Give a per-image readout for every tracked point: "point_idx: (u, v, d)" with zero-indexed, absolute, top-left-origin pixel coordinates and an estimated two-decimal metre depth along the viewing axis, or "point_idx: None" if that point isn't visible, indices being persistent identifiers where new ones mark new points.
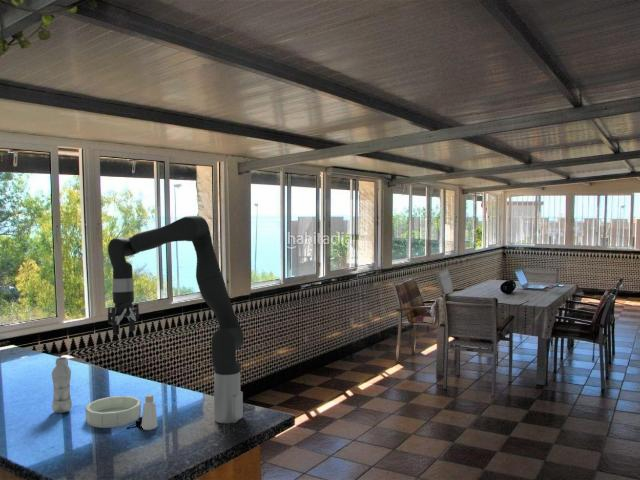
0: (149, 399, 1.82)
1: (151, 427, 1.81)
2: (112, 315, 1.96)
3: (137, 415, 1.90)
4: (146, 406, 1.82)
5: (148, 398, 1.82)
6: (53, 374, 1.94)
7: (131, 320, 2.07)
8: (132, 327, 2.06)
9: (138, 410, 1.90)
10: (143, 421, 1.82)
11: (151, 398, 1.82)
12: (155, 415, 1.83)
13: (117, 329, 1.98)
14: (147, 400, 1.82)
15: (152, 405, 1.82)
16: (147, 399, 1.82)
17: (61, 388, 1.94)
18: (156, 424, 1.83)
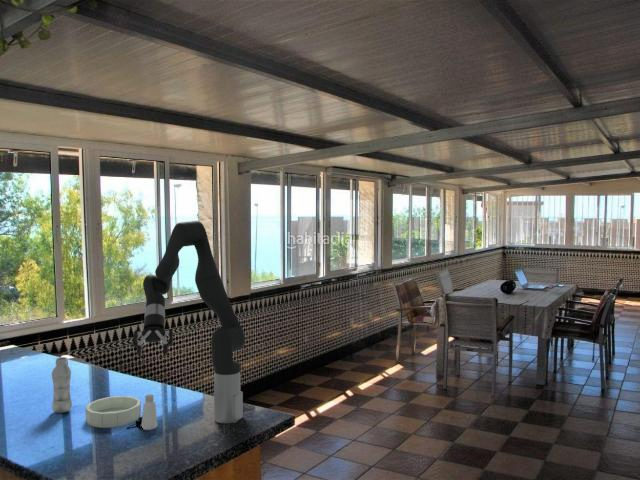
0: (149, 399, 1.82)
1: (151, 427, 1.81)
2: None
3: (137, 415, 1.90)
4: (146, 406, 1.81)
5: (148, 398, 1.82)
6: (53, 374, 1.94)
7: (164, 345, 1.98)
8: (163, 350, 1.96)
9: (138, 410, 1.90)
10: (143, 421, 1.82)
11: (151, 398, 1.82)
12: (155, 415, 1.83)
13: (139, 349, 1.94)
14: (147, 400, 1.82)
15: (152, 405, 1.82)
16: (147, 399, 1.82)
17: (61, 388, 1.94)
18: (156, 424, 1.83)
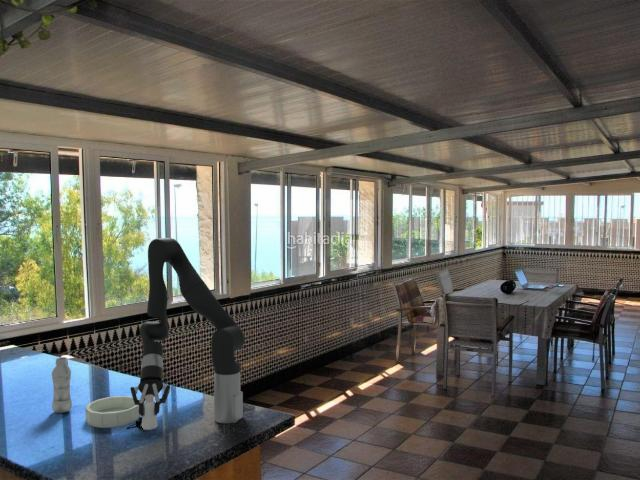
0: (149, 399, 1.82)
1: (151, 427, 1.81)
2: (132, 395, 1.84)
3: (137, 415, 1.90)
4: (146, 406, 1.82)
5: (148, 398, 1.82)
6: (53, 374, 1.94)
7: (156, 402, 1.85)
8: (155, 409, 1.82)
9: (138, 410, 1.90)
10: (143, 421, 1.82)
11: (151, 398, 1.82)
12: (155, 415, 1.83)
13: (141, 408, 1.82)
14: (147, 400, 1.82)
15: (152, 405, 1.82)
16: (147, 399, 1.82)
17: (61, 388, 1.94)
18: (156, 424, 1.83)
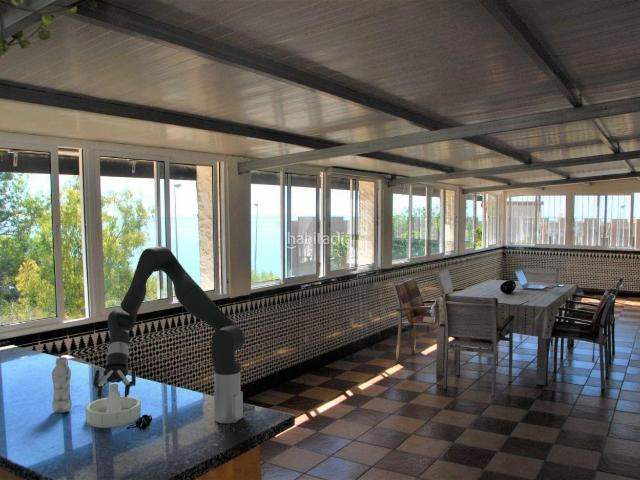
0: (113, 388, 1.90)
1: None
2: None
3: (137, 415, 1.90)
4: (110, 395, 1.90)
5: (112, 387, 1.90)
6: (53, 374, 1.94)
7: None
8: None
9: (138, 410, 1.90)
10: (107, 409, 1.90)
11: (115, 387, 1.90)
12: (119, 404, 1.91)
13: (99, 391, 1.90)
14: (111, 389, 1.90)
15: (116, 394, 1.90)
16: (111, 388, 1.90)
17: (61, 388, 1.94)
18: None
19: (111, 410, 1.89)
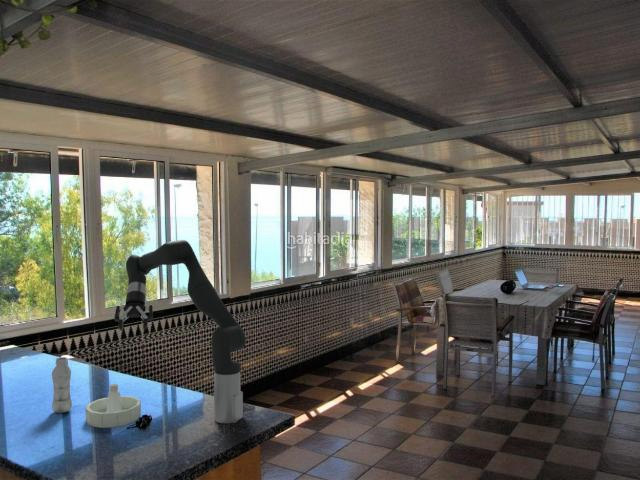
0: (113, 388, 1.90)
1: None
2: (115, 312, 2.11)
3: (137, 415, 1.90)
4: (110, 395, 1.90)
5: (112, 387, 1.90)
6: (53, 374, 1.94)
7: None
8: (143, 324, 2.09)
9: (138, 410, 1.90)
10: (107, 409, 1.90)
11: (115, 387, 1.90)
12: (119, 404, 1.91)
13: (120, 323, 2.07)
14: (111, 389, 1.90)
15: (116, 394, 1.90)
16: (111, 388, 1.90)
17: (61, 388, 1.94)
18: None
19: (111, 410, 1.89)
